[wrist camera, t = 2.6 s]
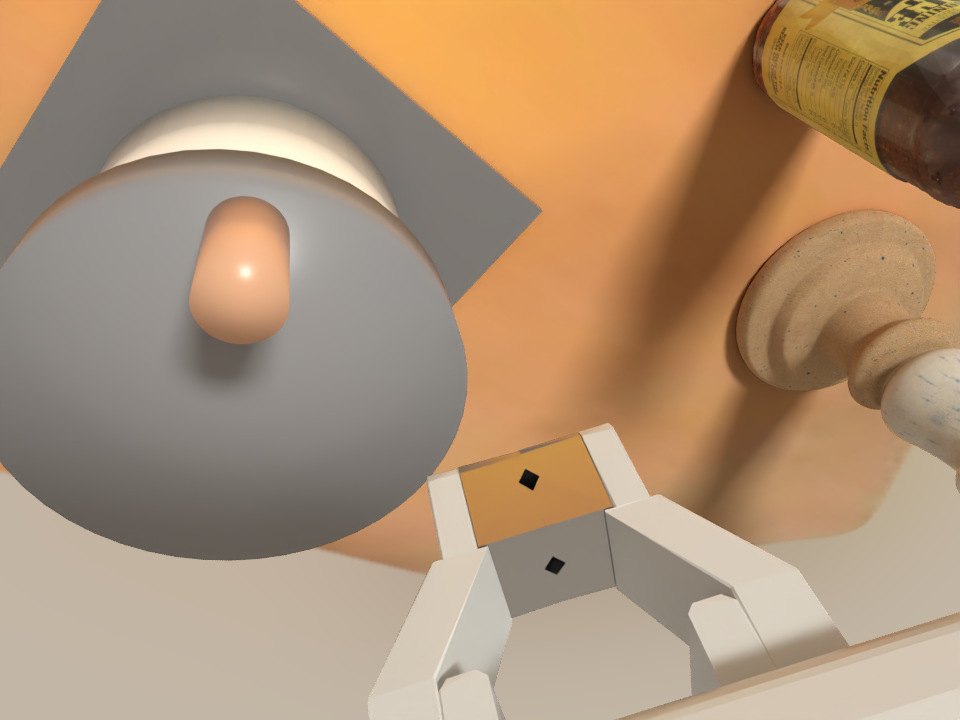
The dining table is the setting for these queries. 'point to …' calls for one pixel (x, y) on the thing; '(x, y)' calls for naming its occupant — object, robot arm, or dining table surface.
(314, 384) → the lid
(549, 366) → the dining table surface
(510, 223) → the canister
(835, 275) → the candle holder
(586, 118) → the dining table surface
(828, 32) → the sauce bottle
